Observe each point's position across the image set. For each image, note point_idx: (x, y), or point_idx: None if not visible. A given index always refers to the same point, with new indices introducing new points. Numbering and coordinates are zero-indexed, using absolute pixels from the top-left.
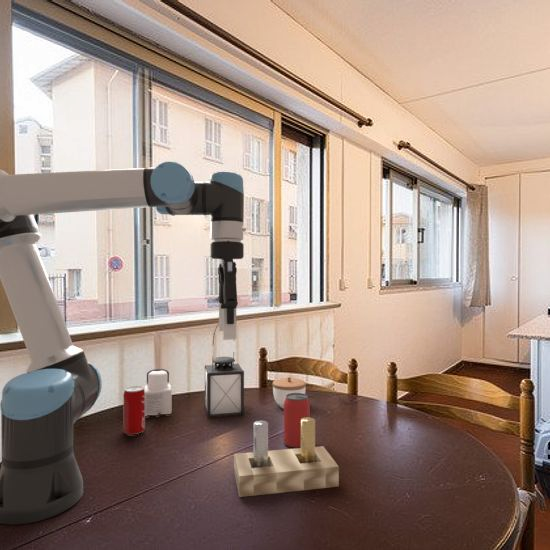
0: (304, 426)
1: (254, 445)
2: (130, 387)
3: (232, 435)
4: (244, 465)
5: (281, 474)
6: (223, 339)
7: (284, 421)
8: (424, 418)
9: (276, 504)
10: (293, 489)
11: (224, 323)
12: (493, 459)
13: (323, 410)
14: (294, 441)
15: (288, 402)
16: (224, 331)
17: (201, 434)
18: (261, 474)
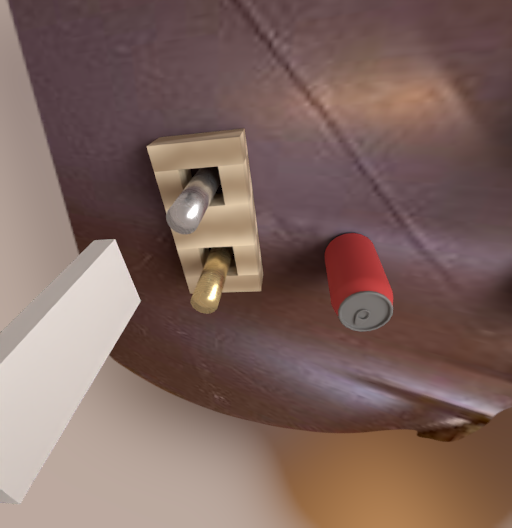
0: (194, 290)
1: (185, 188)
2: None
3: (438, 125)
4: (187, 157)
5: None
6: (95, 240)
7: (354, 256)
8: (391, 422)
9: (145, 192)
10: None
11: (29, 315)
12: (256, 421)
13: (501, 326)
14: (327, 252)
15: (349, 289)
16: (68, 275)
17: (483, 27)
18: (158, 185)
